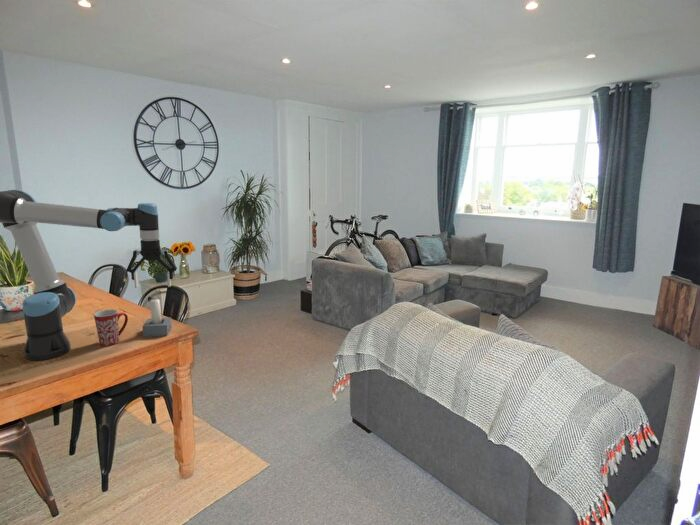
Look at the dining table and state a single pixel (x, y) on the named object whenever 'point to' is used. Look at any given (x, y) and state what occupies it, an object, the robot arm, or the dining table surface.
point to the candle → (155, 311)
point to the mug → (108, 326)
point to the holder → (157, 328)
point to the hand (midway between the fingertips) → (153, 286)
